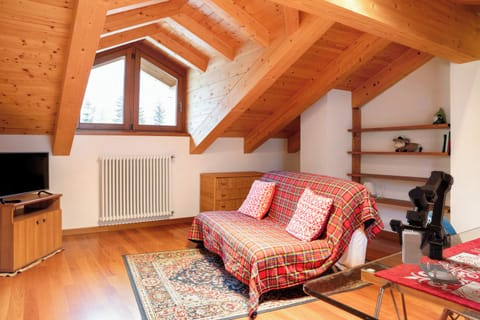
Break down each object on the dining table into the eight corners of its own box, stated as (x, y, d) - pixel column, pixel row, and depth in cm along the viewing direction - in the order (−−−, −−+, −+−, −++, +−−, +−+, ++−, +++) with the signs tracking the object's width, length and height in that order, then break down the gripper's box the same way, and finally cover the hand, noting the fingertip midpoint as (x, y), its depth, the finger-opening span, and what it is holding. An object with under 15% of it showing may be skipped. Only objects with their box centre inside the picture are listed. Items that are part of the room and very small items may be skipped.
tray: (418, 265, 146) (418, 254, 145) (441, 267, 144) (441, 256, 144) (433, 282, 128) (433, 269, 128) (459, 284, 126) (459, 271, 126)
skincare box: (418, 262, 134) (419, 231, 133) (421, 265, 130) (421, 234, 129) (401, 260, 135) (402, 230, 135) (403, 264, 131) (404, 233, 131)
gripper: (391, 199, 140) (380, 231, 133) (442, 205, 128) (433, 240, 120) (397, 215, 147) (387, 246, 139) (447, 222, 134) (439, 256, 126)
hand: (410, 247), depth 131 cm, fingers closed on skincare box, 7 cm apart
